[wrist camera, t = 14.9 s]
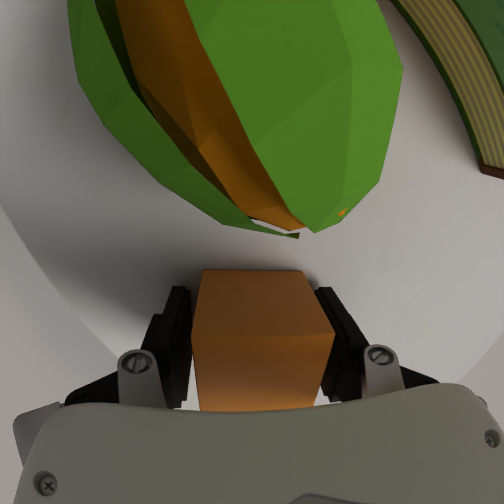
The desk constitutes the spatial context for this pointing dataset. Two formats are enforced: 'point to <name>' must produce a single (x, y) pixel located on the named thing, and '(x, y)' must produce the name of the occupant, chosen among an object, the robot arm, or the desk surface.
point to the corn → (245, 100)
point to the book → (468, 65)
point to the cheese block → (258, 341)
